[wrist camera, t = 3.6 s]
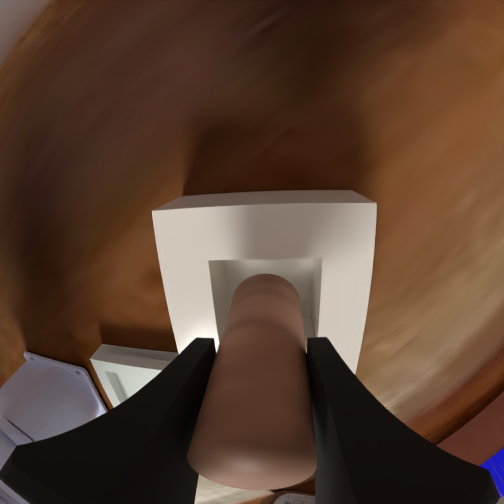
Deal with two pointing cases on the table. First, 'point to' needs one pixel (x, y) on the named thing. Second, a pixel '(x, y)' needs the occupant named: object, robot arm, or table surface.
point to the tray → (127, 369)
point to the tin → (289, 498)
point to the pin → (258, 394)
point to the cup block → (269, 259)
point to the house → (482, 441)
